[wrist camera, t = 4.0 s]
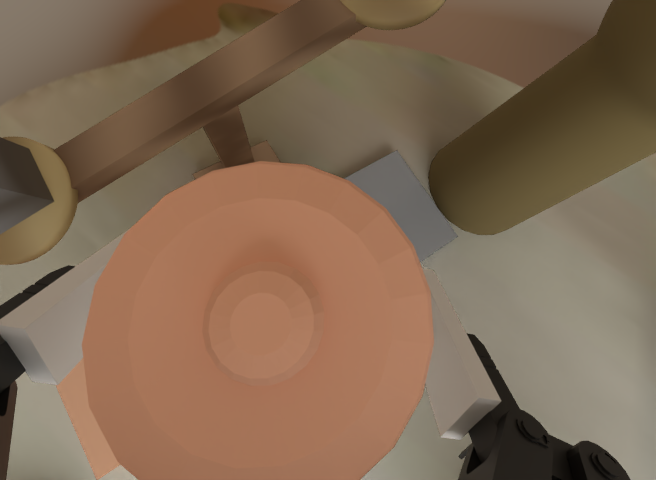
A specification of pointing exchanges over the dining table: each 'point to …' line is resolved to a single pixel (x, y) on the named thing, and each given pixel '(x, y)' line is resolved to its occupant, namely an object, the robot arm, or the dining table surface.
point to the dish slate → (405, 203)
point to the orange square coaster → (86, 422)
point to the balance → (176, 118)
